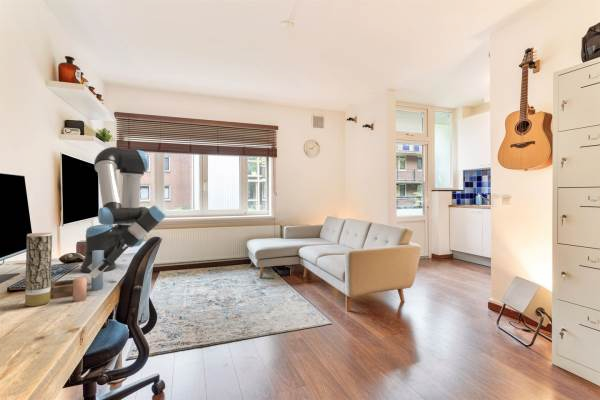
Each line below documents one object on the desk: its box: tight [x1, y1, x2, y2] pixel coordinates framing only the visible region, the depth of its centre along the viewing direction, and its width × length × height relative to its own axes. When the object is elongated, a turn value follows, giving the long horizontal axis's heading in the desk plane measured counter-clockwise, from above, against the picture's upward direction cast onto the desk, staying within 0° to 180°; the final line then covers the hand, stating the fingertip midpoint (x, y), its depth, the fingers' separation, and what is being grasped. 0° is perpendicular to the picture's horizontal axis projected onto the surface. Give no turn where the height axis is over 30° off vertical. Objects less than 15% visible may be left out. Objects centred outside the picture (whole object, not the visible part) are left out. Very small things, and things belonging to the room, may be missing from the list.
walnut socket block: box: [50, 278, 74, 300], centre depth 117 cm, size 10×10×4 cm
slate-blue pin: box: [90, 250, 104, 292], centre depth 124 cm, size 4×4×16 cm
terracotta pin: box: [72, 277, 88, 303], centre depth 111 cm, size 4×4×8 cm
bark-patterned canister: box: [24, 232, 53, 307], centre depth 106 cm, size 7×7×25 cm
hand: (90, 272), depth 123 cm, fingers open, 12 cm apart
